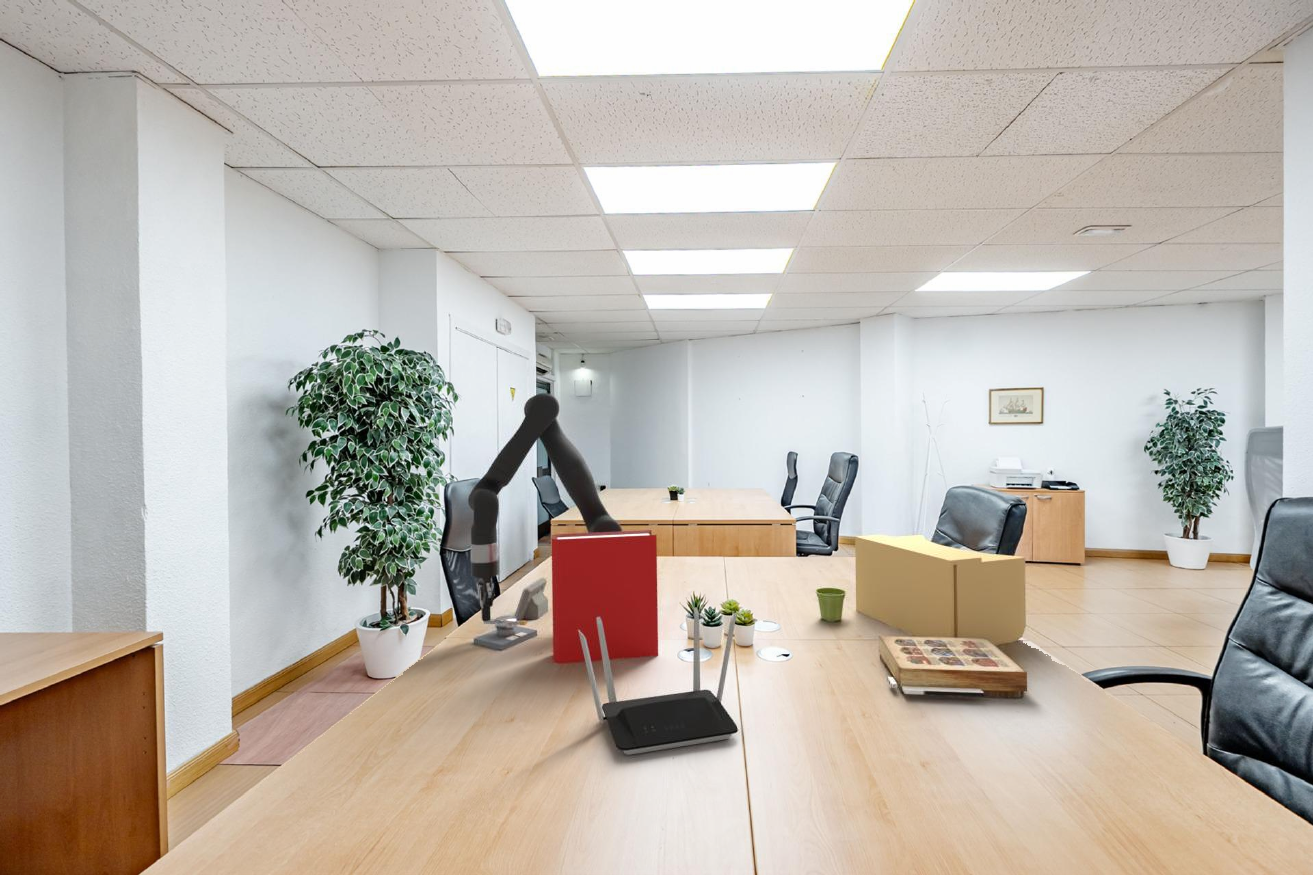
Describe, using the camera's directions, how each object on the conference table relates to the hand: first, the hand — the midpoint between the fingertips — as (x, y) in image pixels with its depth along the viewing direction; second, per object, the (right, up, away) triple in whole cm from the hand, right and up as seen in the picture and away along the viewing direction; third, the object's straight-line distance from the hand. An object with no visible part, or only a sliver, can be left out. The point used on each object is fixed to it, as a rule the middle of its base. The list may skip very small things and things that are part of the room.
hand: (486, 620), depth 169 cm
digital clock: (+7, -7, +27) cm, 29 cm away
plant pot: (+103, -5, +18) cm, 104 cm away
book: (+34, -7, -9) cm, 36 cm away
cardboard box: (+132, -5, +12) cm, 133 cm away
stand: (+5, -7, +4) cm, 9 cm away
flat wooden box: (+116, -6, -28) cm, 119 cm away
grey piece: (+4, -3, +4) cm, 6 cm away
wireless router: (+50, -7, -47) cm, 69 cm away
